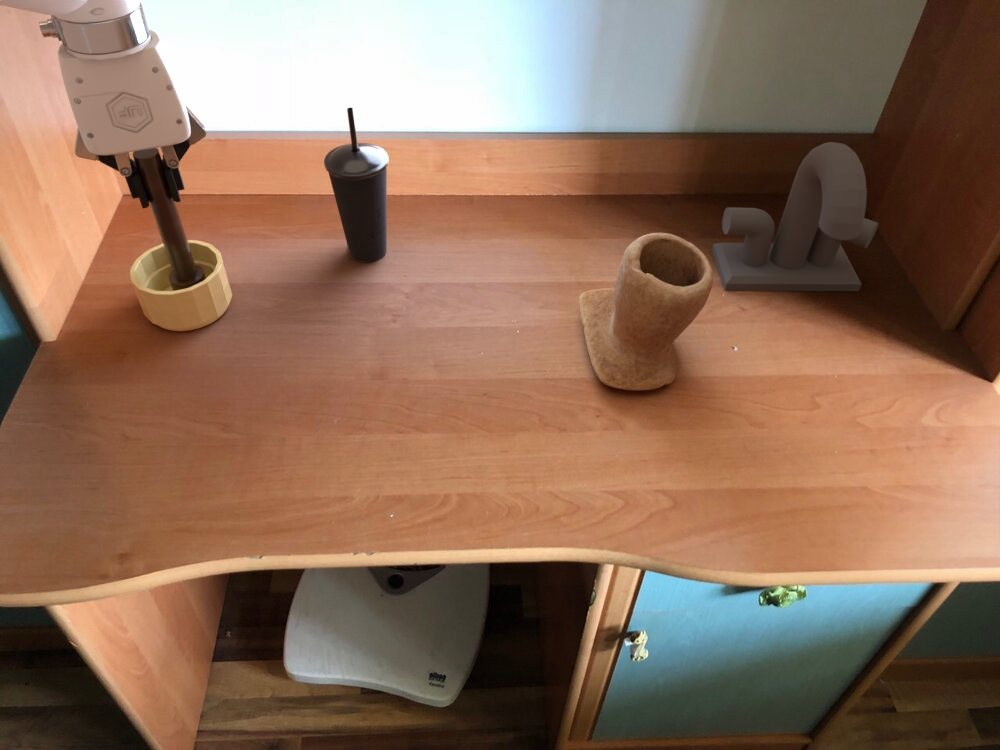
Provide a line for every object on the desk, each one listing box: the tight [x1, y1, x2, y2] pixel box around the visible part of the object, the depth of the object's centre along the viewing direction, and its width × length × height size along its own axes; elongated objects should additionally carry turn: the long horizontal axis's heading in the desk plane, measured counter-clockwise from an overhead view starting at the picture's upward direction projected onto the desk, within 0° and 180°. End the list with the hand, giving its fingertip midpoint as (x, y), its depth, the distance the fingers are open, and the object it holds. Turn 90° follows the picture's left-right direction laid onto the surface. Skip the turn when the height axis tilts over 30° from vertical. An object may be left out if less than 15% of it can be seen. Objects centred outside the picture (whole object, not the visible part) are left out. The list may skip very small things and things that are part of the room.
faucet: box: [710, 141, 879, 292], centre depth 94 cm, size 18×16×20 cm
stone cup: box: [578, 232, 714, 392], centre depth 87 cm, size 15×12×15 cm
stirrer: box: [132, 148, 206, 291], centre depth 89 cm, size 4×4×18 cm
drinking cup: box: [323, 107, 390, 263], centre depth 97 cm, size 8×8×20 cm
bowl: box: [129, 239, 233, 332], centre depth 94 cm, size 10×10×6 cm
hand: (160, 197), depth 86 cm, fingers closed on stirrer, 2 cm apart
